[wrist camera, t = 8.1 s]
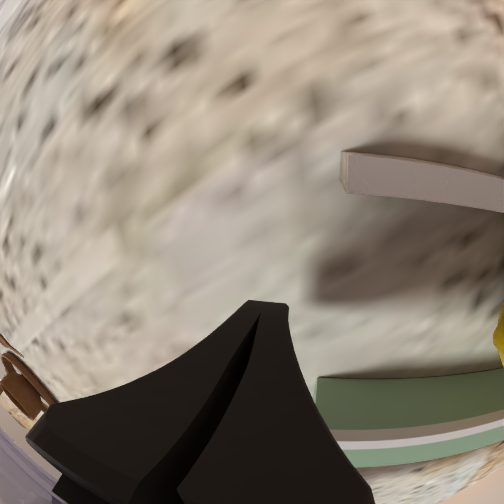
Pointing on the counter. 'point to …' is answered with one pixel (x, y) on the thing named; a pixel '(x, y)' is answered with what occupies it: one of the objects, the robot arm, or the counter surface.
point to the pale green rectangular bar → (412, 416)
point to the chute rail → (420, 180)
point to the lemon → (500, 335)
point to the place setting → (23, 385)
